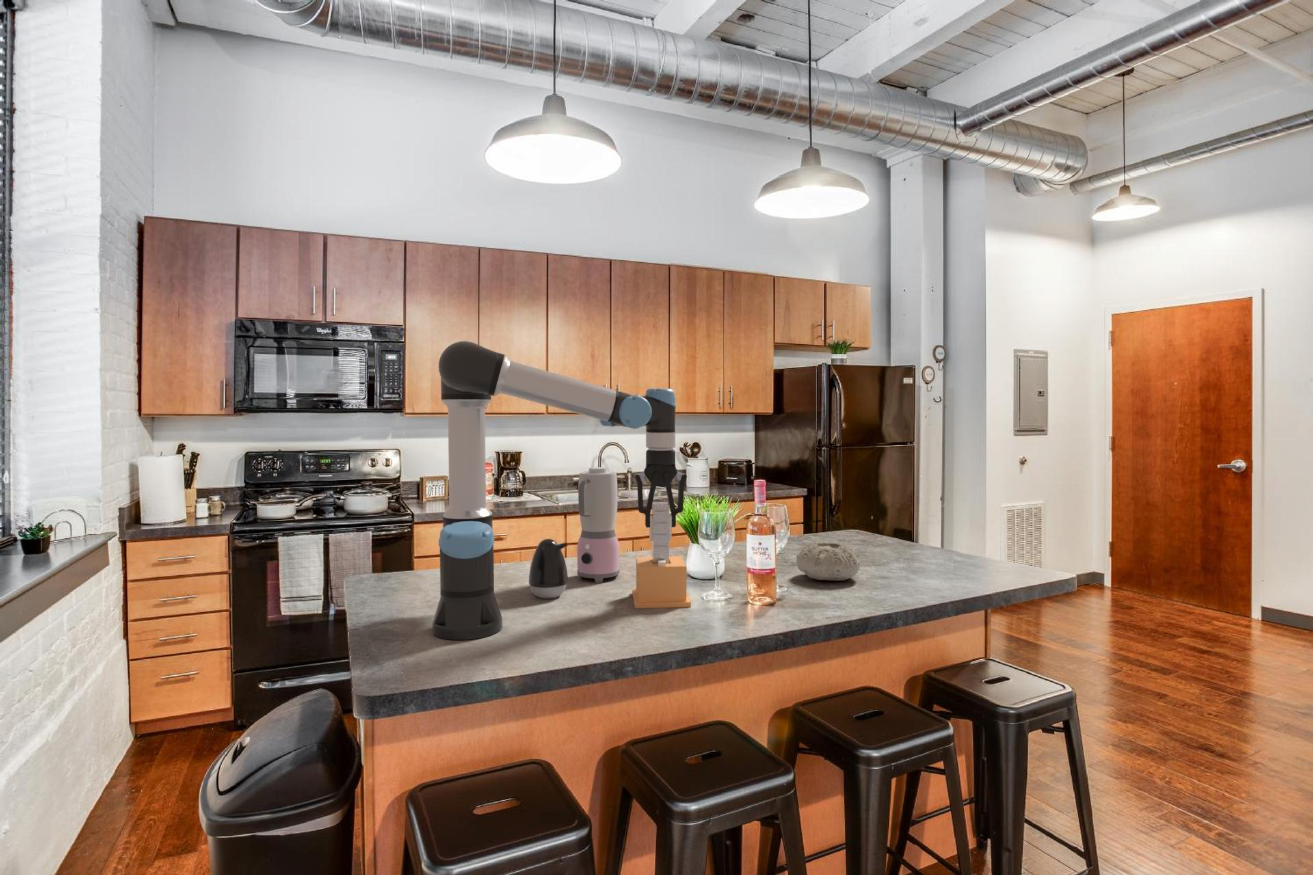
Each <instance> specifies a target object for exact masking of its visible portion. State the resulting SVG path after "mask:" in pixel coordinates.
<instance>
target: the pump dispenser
mask: <svg viewBox="0 0 1313 875" xmlns="http://www.w3.org/2000/svg"><path fill="white" fill-rule="evenodd" d="M568 546H569V545H568V542H562V543H559V544H558V543H557V541H556V540H554V539H552V538H545V539H544V538H543V539H542V540H541V541H540V542H539V543H538V544H537V547H536V548H535V551H534V554H533V556H532V559H531V561H530V562H531V563H530V567H529V575H528V584H529V586H530V590H531V592H532V593H533V595H534V596H536V597H538V598H540V599H544V600H545V599H556V598H558V597H560V596H561V595H562V594H564V592H565V591H566V587H567V584H568V582H569V578H568V577H569V575H568V574H569V573H568V569H567V565H566V564H567V563H566V560H565V558H564V554H563V552H562V549H565V548H566V547H568Z"/></svg>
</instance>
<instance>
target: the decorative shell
mask: <svg viewBox="0 0 1313 875" xmlns="http://www.w3.org/2000/svg"><path fill="white" fill-rule="evenodd" d="M796 566H797V569H798V570H799V571H800V572H801V573H803V574H805V576H807V577H809V579H815V580H818V581H829V582H831V581H832V582H841V581H846V580H849V579H851V578H853V577H854V576H856V575H857V574H858V572H859V571H860V568H861V567H860V566H861V563H860V559H859V555H858V554H857V553H856V552H855V551H854V550H853V549H852V548H850V547H848V546H847V545H845V544H844V543H843V544H842V543H840V542H824V541H823V542H820V541H819V542H815V543H809V545H807V546H805V547H804V548H802V549H801V550H800V552H799V553H798V554H796Z"/></svg>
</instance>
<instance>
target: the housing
mask: <svg viewBox="0 0 1313 875" xmlns="http://www.w3.org/2000/svg"><path fill="white" fill-rule="evenodd" d="M635 578H636V579H635V581H636V582H635V584H636V585H635V588H632V590H631V591H632V592H631V595H632V601H633V605H634V609H654V608H655V609H657V608H658V609H659V608H662V609H663V608H691V607H692V602H691V600H690V597H689V595H688V593H687V565H686V563H685V561H684V559H683V557H682V556H681V555H674V556H671V555H669V564H666V561H665V560H658V564H652V556H636V558H635Z"/></svg>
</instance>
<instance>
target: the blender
mask: <svg viewBox="0 0 1313 875" xmlns="http://www.w3.org/2000/svg"><path fill="white" fill-rule="evenodd" d="M577 488H578V489H577V494H578V495H577V496H578V498H577V499H578V501H577V503H578V513H579V519H580V520H579V521H580V524H581V525H580V527H581V533H580V536H579V538H578V541H577V545H576V547H577V548H576V556H577V557H576V559H577V563H576V565H577V570H576V571H577V579H578V580H582V578H587V579H594V582H595V583H597V582H598V583H603V581H604V579H606V578H613V577H618V576H619V574H620V544H619V539H618V537H617V535H616V532H615V527H616V526H615V525H616V521H617V520H616V519H617V513H618V475H617V473H616V471H611V470H610V471H609V470H608V469H607V467H604V466H603V467H601V466H600V467H599V466H596V467H589V468H588V471H581V472H580V473H579V474H578V486H577Z"/></svg>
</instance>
